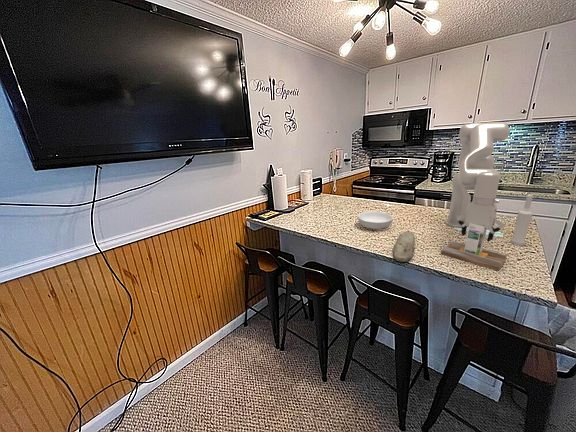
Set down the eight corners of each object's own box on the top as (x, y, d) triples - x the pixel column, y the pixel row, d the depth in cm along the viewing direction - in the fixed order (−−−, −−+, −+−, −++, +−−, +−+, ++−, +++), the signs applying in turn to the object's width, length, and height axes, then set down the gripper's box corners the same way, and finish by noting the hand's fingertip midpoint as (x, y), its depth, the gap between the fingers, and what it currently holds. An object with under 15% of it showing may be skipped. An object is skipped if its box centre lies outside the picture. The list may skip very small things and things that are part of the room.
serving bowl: (350, 225, 161) (351, 215, 159) (374, 218, 170) (374, 209, 168) (374, 235, 144) (375, 224, 142) (399, 227, 152) (400, 217, 150)
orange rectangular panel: (462, 248, 119) (462, 246, 119) (487, 255, 112) (488, 253, 112) (457, 253, 115) (457, 251, 115) (483, 260, 108) (484, 258, 108)
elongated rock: (417, 239, 139) (398, 237, 144) (417, 230, 138) (398, 228, 143) (413, 264, 110) (389, 261, 115) (414, 253, 109) (390, 251, 114)
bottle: (510, 243, 125) (522, 196, 117) (511, 240, 128) (523, 193, 120) (523, 246, 121) (537, 197, 113) (524, 243, 124) (537, 195, 116)
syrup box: (463, 252, 114) (468, 223, 109) (467, 248, 117) (473, 219, 112) (478, 256, 110) (484, 226, 105) (482, 251, 113) (488, 222, 108)
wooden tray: (450, 246, 126) (451, 239, 125) (505, 260, 110) (507, 253, 108) (440, 254, 119) (441, 247, 118) (498, 271, 102) (500, 263, 101)
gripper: (511, 202, 101) (502, 240, 107) (462, 196, 114) (456, 230, 120) (507, 206, 97) (498, 246, 102) (457, 199, 110) (451, 234, 115)
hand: (475, 237), depth 111 cm, fingers open, 9 cm apart
